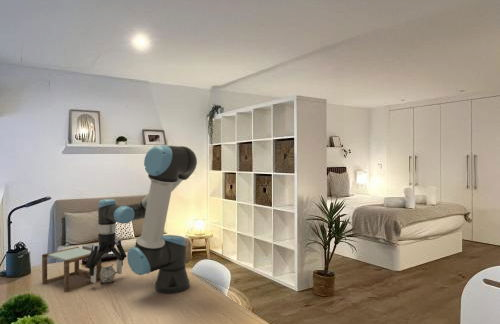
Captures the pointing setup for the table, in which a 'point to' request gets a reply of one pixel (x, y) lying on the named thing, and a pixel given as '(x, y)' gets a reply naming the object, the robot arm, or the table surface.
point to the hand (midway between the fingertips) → (106, 277)
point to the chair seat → (74, 253)
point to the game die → (107, 274)
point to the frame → (66, 271)
